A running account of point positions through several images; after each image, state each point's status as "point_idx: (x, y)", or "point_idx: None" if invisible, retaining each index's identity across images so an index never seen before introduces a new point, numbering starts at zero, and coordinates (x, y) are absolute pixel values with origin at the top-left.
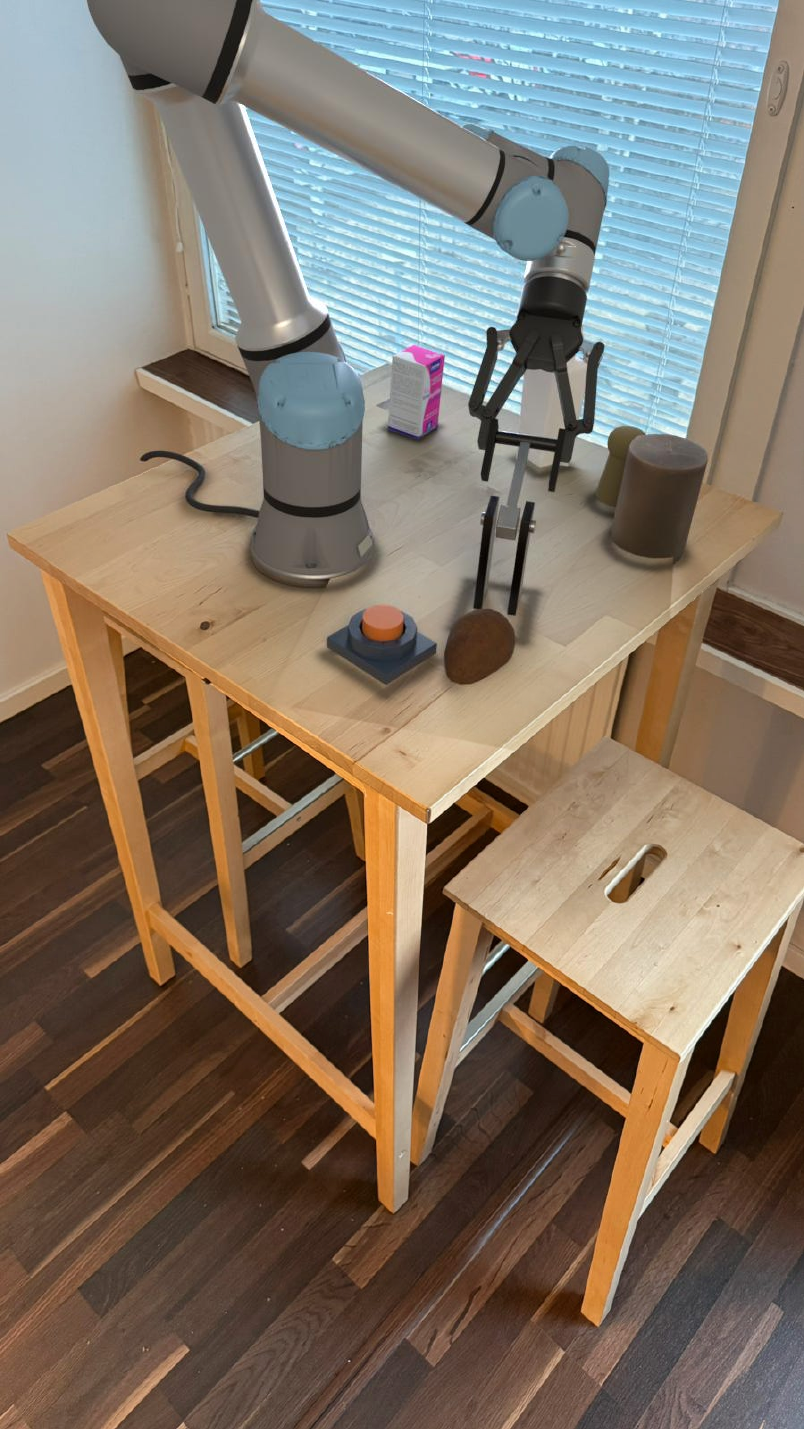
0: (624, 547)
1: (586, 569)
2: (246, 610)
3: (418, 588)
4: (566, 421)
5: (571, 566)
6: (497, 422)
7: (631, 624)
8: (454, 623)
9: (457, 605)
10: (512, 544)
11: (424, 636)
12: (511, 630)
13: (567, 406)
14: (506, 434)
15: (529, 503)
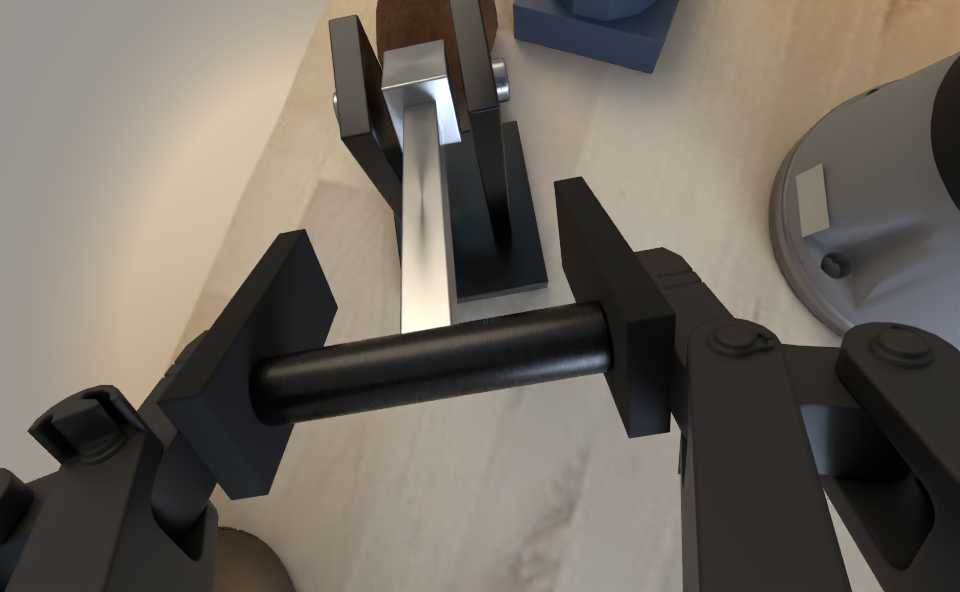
0: (241, 548)
1: (329, 456)
2: (901, 5)
3: (637, 219)
4: (134, 452)
5: (362, 453)
6: (620, 317)
7: (215, 299)
8: (489, 3)
9: (541, 202)
10: (513, 485)
11: (541, 9)
12: (378, 29)
13: (67, 567)
14: (541, 324)
15: (356, 120)
